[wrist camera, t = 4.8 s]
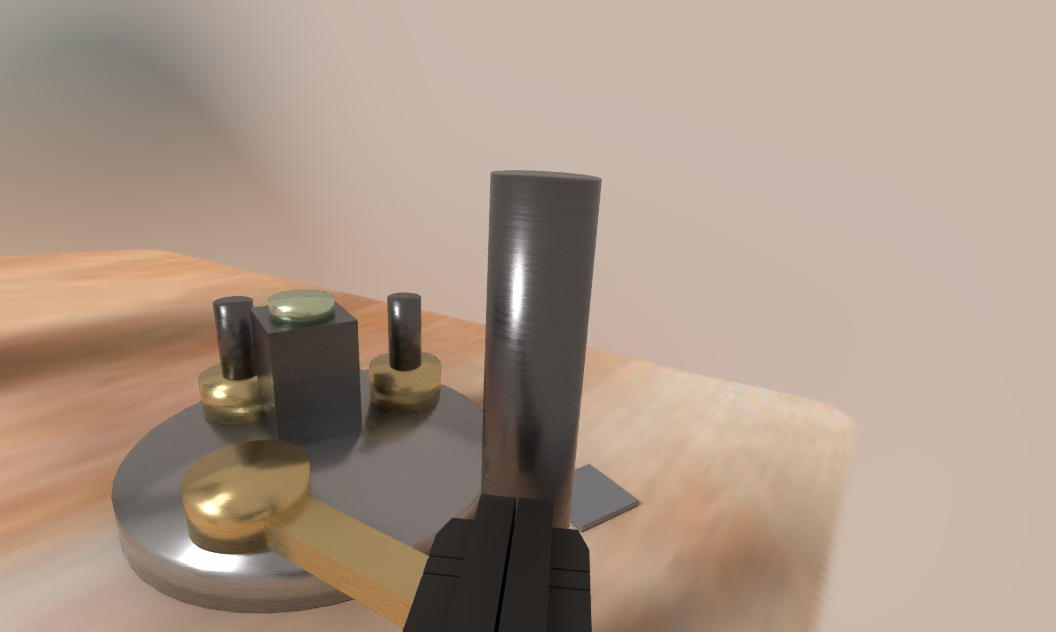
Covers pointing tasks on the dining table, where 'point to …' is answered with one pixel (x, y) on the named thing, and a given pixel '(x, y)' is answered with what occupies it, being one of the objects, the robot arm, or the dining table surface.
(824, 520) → the dining table surface
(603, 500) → the plate
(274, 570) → the tribrach plate
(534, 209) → the lever
